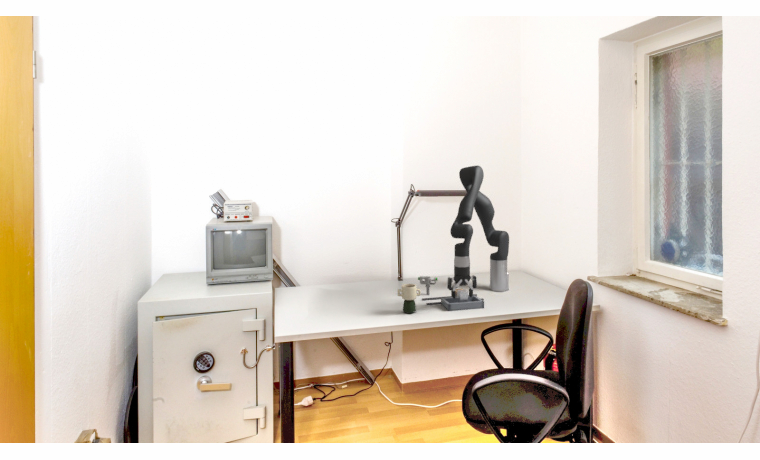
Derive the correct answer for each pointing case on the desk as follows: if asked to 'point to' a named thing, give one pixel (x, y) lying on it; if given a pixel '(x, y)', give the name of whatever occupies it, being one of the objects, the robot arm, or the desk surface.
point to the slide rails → (439, 298)
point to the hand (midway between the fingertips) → (462, 297)
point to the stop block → (462, 296)
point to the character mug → (409, 297)
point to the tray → (452, 303)
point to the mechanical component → (427, 282)
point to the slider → (456, 292)
